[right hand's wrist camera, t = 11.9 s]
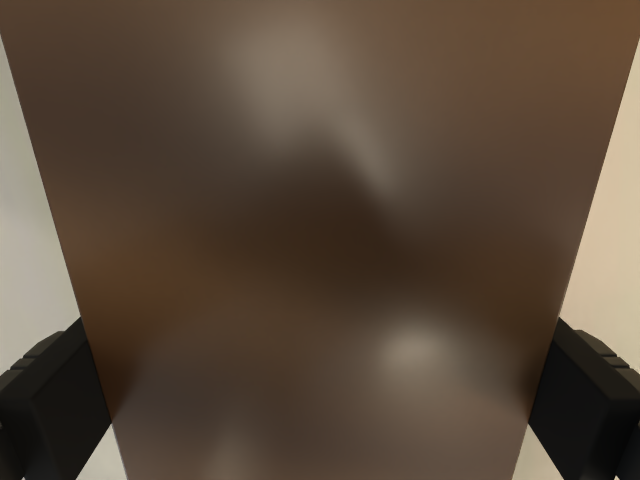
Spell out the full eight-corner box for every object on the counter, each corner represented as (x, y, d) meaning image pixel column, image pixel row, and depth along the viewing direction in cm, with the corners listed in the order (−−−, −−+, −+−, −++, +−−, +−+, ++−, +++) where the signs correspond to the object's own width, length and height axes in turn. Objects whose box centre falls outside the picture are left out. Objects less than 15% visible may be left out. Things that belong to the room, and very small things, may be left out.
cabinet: (161, -195, 13) (-314, -1054, 3) (479, -193, 13) (957, -1048, 3) (220, 315, 21) (134, 509, 11) (418, 315, 21) (504, 509, 11)
